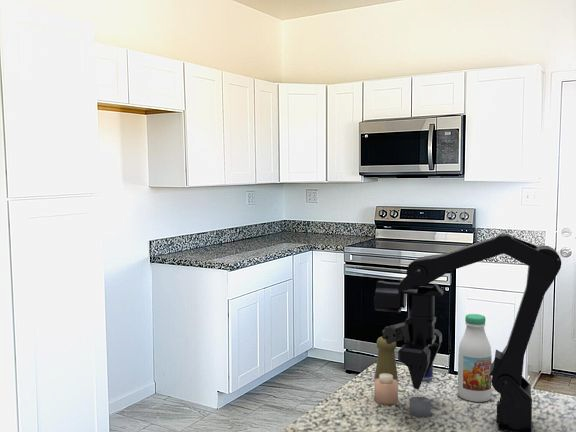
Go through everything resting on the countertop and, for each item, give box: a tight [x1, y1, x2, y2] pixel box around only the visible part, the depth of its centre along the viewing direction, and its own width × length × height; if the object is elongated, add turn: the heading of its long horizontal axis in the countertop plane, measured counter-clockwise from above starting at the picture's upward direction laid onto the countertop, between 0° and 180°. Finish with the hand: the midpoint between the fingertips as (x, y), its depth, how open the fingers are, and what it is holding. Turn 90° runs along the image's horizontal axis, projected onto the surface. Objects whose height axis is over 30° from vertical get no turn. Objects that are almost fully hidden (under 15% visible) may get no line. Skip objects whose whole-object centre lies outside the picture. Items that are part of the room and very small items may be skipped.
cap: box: [408, 396, 432, 419], centre depth 125 cm, size 5×5×3 cm
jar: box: [373, 373, 399, 406], centre depth 132 cm, size 6×6×6 cm
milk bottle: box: [457, 313, 493, 403], centre depth 134 cm, size 8×8×20 cm
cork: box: [374, 336, 399, 381], centre depth 147 cm, size 6×6×11 cm
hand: (420, 381), depth 124 cm, fingers open, 9 cm apart
